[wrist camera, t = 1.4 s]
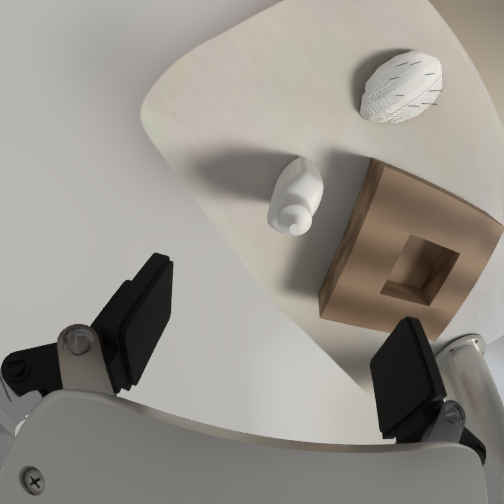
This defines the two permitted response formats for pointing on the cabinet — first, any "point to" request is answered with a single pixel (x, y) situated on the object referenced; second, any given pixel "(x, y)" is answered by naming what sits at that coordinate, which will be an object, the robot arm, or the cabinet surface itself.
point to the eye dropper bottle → (295, 197)
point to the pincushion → (402, 87)
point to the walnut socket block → (406, 254)
